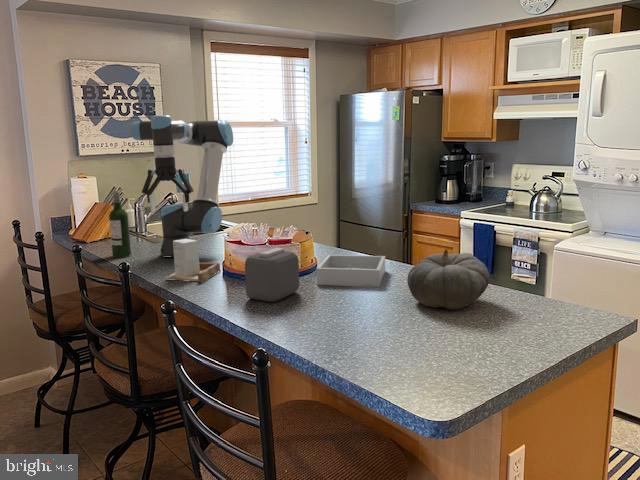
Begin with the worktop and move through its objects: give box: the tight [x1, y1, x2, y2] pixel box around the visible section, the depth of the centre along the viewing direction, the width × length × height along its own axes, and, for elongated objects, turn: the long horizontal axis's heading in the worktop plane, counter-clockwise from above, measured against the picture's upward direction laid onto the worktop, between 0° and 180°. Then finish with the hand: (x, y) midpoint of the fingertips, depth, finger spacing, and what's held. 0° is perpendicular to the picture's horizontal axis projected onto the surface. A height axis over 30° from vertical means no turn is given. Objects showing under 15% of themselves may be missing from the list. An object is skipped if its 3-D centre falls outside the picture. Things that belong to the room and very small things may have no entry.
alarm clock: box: [244, 247, 300, 303], centre depth 183 cm, size 16×11×16 cm
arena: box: [164, 262, 221, 283], centre depth 212 cm, size 17×16×4 cm
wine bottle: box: [108, 189, 132, 259], centre depth 249 cm, size 8×8×30 cm
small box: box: [173, 238, 200, 277], centre depth 211 cm, size 8×6×13 cm
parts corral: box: [315, 254, 386, 288], centre depth 205 cm, size 22×22×6 cm
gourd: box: [407, 248, 491, 311], centre depth 171 cm, size 25×25×17 cm
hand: (169, 211), depth 217 cm, fingers open, 13 cm apart
